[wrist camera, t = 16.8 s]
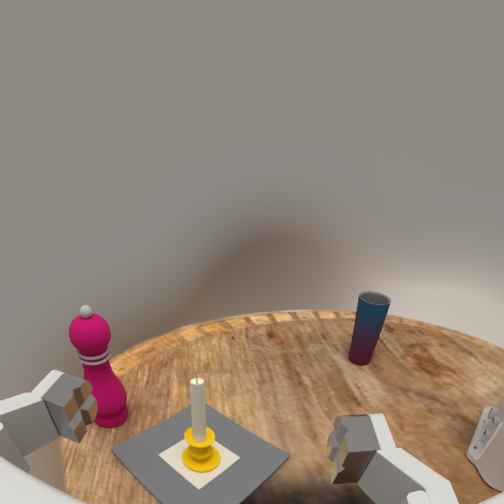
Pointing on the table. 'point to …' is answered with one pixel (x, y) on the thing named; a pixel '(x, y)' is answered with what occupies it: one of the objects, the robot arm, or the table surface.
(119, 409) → the pepper mill
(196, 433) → the candle
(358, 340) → the cup
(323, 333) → the table surface
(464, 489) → the table surface
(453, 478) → the table surface
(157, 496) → the tile
